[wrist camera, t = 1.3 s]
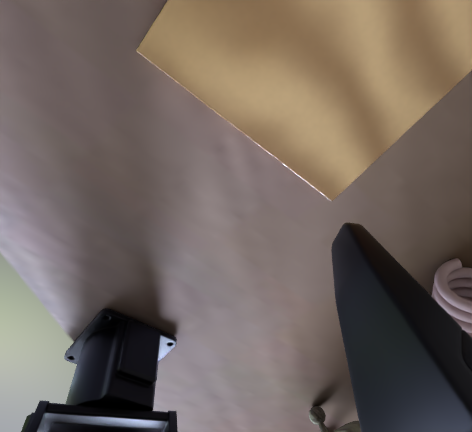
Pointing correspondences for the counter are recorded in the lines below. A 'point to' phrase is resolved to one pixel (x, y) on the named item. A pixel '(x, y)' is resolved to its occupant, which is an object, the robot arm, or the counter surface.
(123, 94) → the counter surface
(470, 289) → the coil
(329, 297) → the counter surface
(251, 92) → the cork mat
